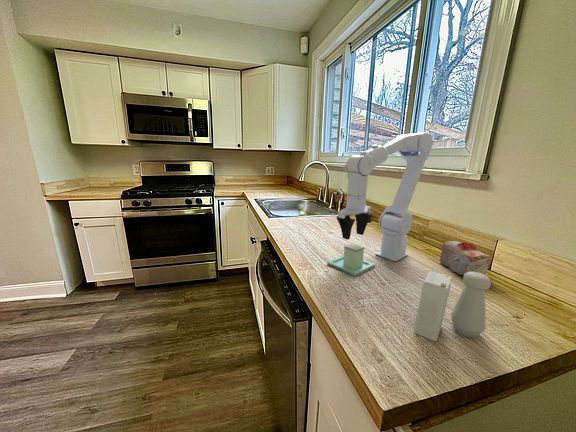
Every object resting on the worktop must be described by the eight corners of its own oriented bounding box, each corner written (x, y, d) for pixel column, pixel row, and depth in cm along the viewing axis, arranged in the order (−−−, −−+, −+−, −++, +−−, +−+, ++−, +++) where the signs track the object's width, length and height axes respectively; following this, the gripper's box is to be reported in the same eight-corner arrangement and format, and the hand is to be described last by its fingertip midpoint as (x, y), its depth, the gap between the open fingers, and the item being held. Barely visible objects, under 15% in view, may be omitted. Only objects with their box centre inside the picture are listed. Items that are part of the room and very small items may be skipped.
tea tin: (351, 261, 82) (352, 243, 80) (362, 265, 78) (364, 247, 77) (342, 264, 79) (344, 246, 77) (354, 269, 76) (356, 250, 74)
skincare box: (419, 318, 53) (427, 269, 51) (442, 327, 51) (453, 276, 48) (412, 333, 49) (421, 280, 46) (438, 344, 46) (448, 288, 43)
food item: (491, 281, 70) (498, 250, 68) (466, 282, 70) (472, 251, 67) (456, 262, 84) (461, 235, 81) (434, 262, 83) (439, 236, 81)
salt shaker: (489, 343, 46) (504, 283, 43) (456, 338, 47) (469, 280, 44) (473, 323, 52) (485, 269, 49) (444, 320, 53) (454, 266, 50)
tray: (347, 256, 87) (347, 253, 87) (374, 266, 79) (374, 264, 78) (327, 264, 80) (327, 261, 80) (354, 276, 72) (355, 273, 72)
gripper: (353, 198, 66) (349, 244, 69) (380, 194, 75) (376, 235, 79) (333, 195, 72) (331, 238, 75) (361, 192, 81) (358, 230, 84)
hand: (353, 236), depth 77 cm, fingers open, 7 cm apart
